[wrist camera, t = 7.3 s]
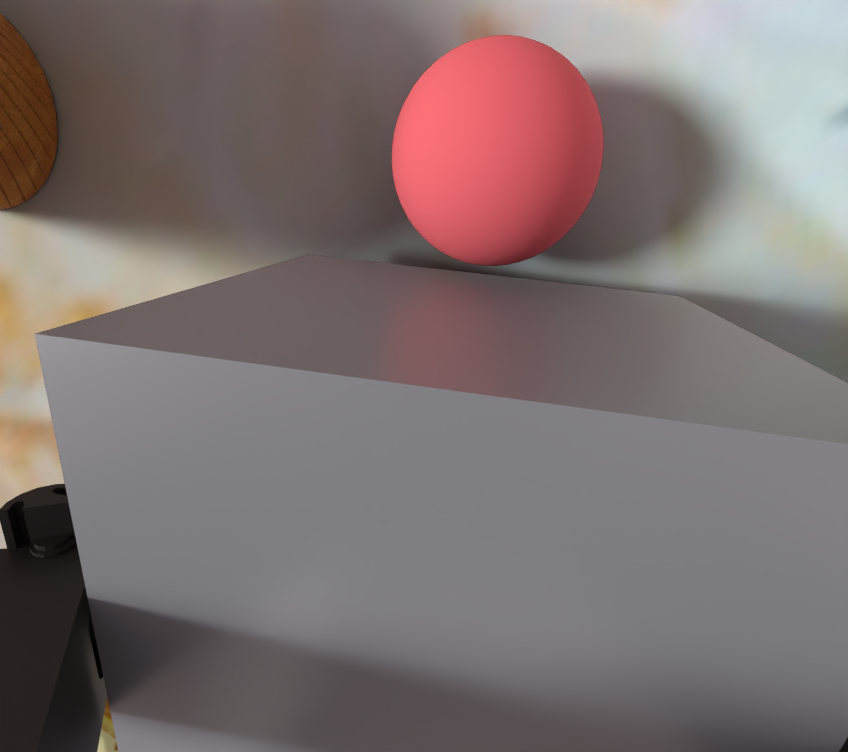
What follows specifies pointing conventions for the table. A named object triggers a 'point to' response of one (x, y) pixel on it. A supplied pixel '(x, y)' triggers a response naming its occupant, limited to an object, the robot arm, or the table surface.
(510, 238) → the ball
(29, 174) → the disposable coffee cup
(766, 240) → the table surface
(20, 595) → the robot arm
